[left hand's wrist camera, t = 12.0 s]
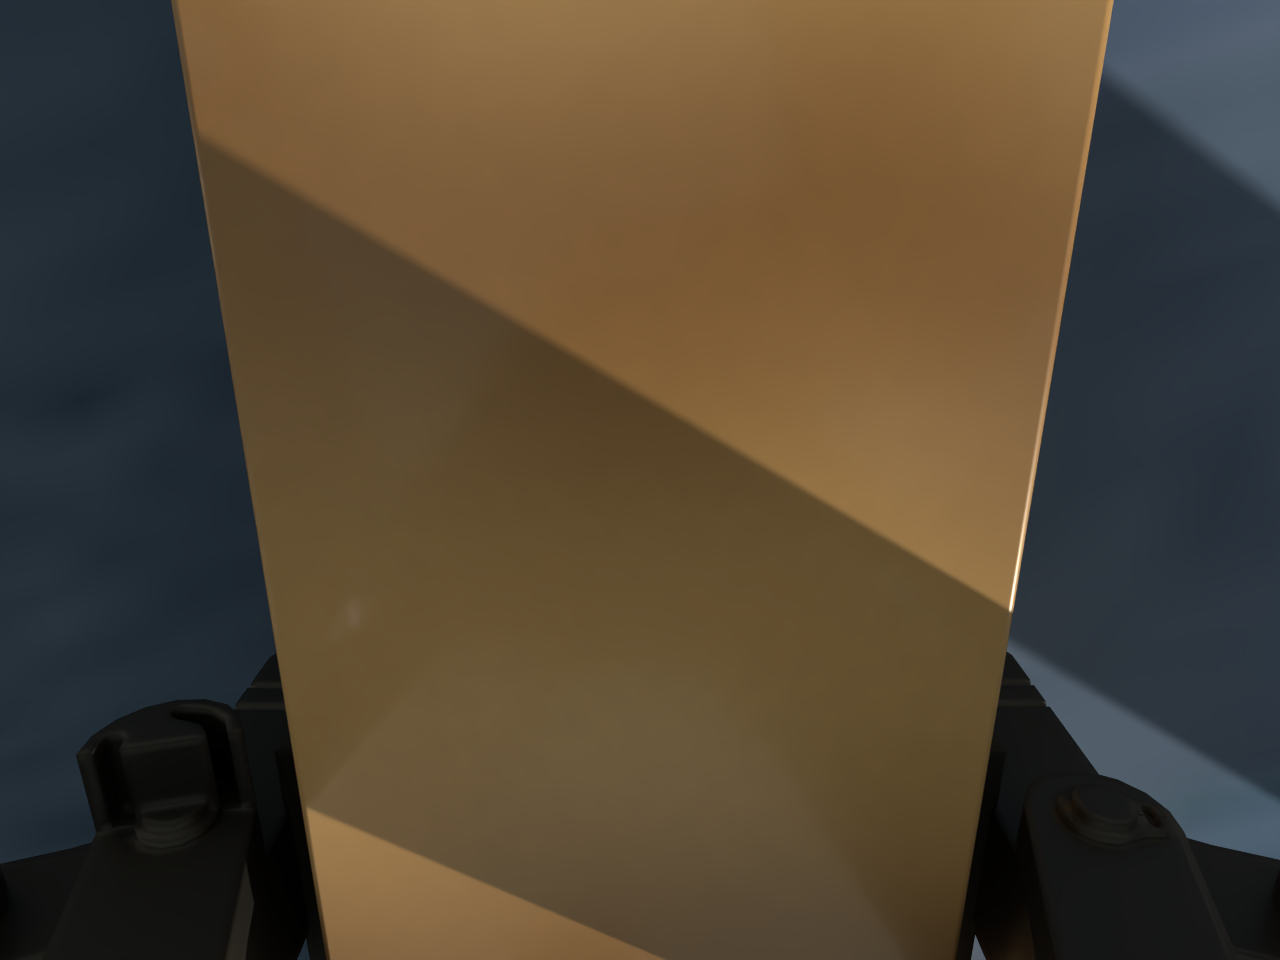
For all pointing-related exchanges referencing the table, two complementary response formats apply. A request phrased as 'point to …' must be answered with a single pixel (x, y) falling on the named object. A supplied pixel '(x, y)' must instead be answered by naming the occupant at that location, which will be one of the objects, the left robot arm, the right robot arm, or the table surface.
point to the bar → (641, 448)
